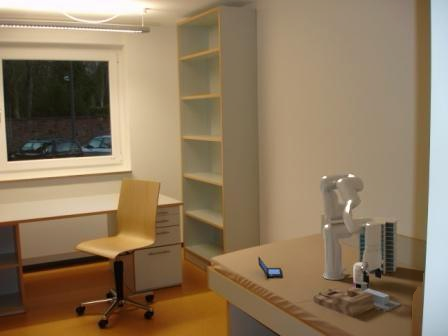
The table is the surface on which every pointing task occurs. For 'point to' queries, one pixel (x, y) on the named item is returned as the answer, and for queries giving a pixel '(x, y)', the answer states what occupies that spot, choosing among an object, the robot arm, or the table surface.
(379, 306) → the mat
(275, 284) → the table surface
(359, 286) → the supplement can
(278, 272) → the game console
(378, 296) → the bar
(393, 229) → the building model
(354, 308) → the jig
